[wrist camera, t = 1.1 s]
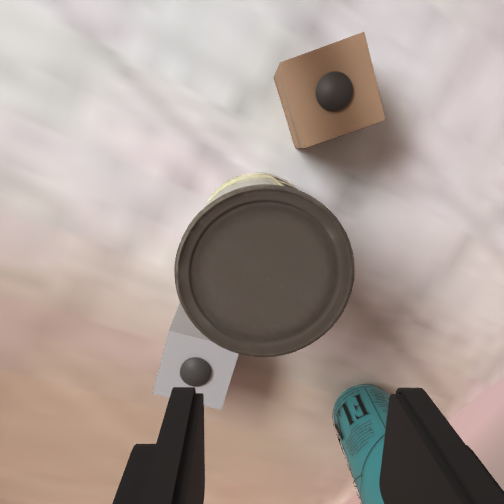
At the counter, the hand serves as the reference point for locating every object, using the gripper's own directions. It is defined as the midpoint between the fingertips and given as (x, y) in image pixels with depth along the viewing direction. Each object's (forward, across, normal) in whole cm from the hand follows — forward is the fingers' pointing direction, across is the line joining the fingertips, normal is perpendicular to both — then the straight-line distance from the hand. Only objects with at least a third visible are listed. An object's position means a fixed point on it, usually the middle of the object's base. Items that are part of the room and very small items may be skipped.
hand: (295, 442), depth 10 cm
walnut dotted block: (+27, -5, -11) cm, 30 cm away
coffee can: (+28, 0, 0) cm, 28 cm away
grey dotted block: (+27, +5, +11) cm, 30 cm away
